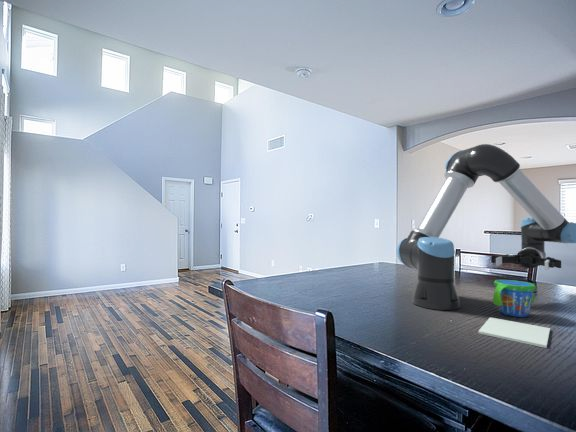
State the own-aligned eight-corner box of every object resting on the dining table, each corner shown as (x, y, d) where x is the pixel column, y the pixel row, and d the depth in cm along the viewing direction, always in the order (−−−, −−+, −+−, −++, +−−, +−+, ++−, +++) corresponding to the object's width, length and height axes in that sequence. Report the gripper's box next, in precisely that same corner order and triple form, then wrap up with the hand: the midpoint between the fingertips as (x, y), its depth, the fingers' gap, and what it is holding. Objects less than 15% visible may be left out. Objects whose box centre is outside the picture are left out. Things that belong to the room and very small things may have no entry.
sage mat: (546, 348, 74) (546, 345, 74) (478, 333, 84) (478, 331, 84) (550, 330, 86) (550, 328, 86) (490, 319, 96) (489, 317, 96)
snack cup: (518, 308, 108) (518, 278, 108) (550, 317, 97) (550, 284, 97) (480, 311, 104) (480, 280, 104) (509, 321, 94) (509, 287, 94)
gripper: (572, 270, 114) (569, 279, 99) (492, 264, 132) (479, 270, 117) (572, 250, 115) (569, 255, 99) (492, 246, 132) (478, 250, 117)
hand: (520, 263), depth 108 cm, fingers open, 13 cm apart
